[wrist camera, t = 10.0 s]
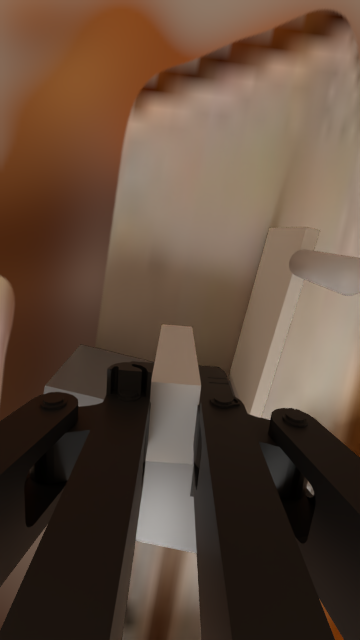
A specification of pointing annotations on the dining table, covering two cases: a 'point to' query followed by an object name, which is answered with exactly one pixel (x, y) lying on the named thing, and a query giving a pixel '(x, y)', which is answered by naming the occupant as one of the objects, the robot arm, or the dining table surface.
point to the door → (282, 306)
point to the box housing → (160, 477)
